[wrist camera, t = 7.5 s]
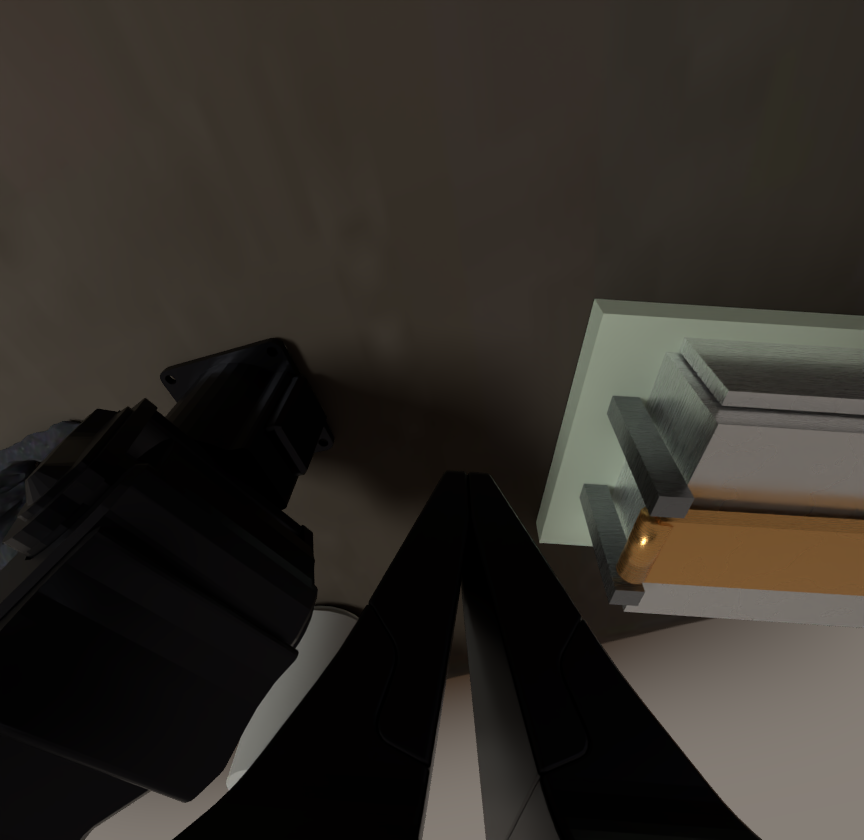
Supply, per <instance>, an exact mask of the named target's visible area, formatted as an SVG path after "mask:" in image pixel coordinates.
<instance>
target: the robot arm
mask: <svg viewBox="0 0 864 840" xmlns="http://www.w3.org/2000/svg"><path fill="white" fill-rule="evenodd" d="M269 347H273V348H275V349H276V350H277V352H278V353H274V352H272V351H271V350H270V348H269ZM170 376H173V377H174V378H175V379H176V380H174V379H172V378H171V377H170ZM160 379H161V381H162V383H163V384H164V386H165V387H166V388H167V390H168V391H169V392H170V394H171V395H172V396H173V398H174V399H175V401H176V402H177V404H176V405H175V406H174V407H173V408H172V409H171V411H170V412H169V413H168V414H167V415H166V417H164V416H163V415H162V414H160V413H159V412H158V411H157V407H156V406H155V405H154V404H153V403H151V402H150V401H149V400H148V399H146V398H144V399H143V400H142V401H140V402H139V403H138V404H137V405H135V406H134V407H133V408H132V409H131V408H130V407H126V408H125V409H123V410H122V411H120V410H119V411H118V412H115V411H109V410H102V409H96V410H95V411H94V412H93V413H91V414H90V415H89V416H88V417H87V418H86V419H85V420H84V421H83V422H82V423H80V424H79V425H78V426H77V427H76V428H75V429H74V430H73V431H72V432H71V433H70V434H69V435H68V436H67V437H66V438H65V439H64V440H63V441H62V442H60V443H59V444H58V445H57V446H56V447H55V448H54V449H53V450H52V451H51V453H50V454H49V455H48V456H47V457H46V458H45V459H44V460H43V461H42V462H41V463H40V465H39V466H38V467H37V468H36V469H35V470H34V471H33V472H32V473H31V475H30V476H29V477H28V478H27V479H26V480H25V491H26V503H25V504H24V506H23V507H22V508H21V510H20V512H19V513H18V515H17V519H16V520H15V522H14V524H13V525H12V527H11V528H10V530H9V531H8V533H7V534H6V536H5V538H4V539H3V541H2V543H4V544H5V545H7V546H9V547H11V548H13V549H14V550H16V551H18V553H17V554H16V555H15V556H14V557H13V558H12V559H11V560H10V561H9V562H8V563H7V564H6V565H5V566H4V568H3V569H2V570H1V571H0V840H85V838H86V837H87V836H88V835H89V833H90V832H91V831H92V830H93V829H94V828H95V827H97V826H98V825H100V824H101V823H103V822H104V821H106V820H107V819H109V818H110V817H112V816H114V815H115V814H117V813H118V812H120V811H121V810H123V809H124V808H126V807H127V806H129V805H130V804H132V803H133V802H135V801H136V800H138V799H139V798H141V797H142V796H144V795H145V794H147V793H149V792H150V791H154V792H156V793H159V794H162V795H165V796H167V797H170V798H173V799H175V800H178V801H181V802H184V803H186V802H189V801H191V800H193V799H194V798H195V797H197V796H198V795H199V793H201V792H202V791H203V790H204V789H205V788H206V787H207V786H208V785H209V784H210V783H211V782H212V781H213V780H214V779H215V778H216V777H217V776H218V775H220V773H221V772H222V771H223V770H224V768H225V767H226V765H227V763H228V761H229V759H230V757H231V755H232V753H233V751H234V750H235V748H236V746H237V744H238V742H239V740H240V738H241V736H242V734H243V733H244V731H245V729H246V727H247V725H248V723H249V722H250V720H251V718H252V716H253V715H254V713H255V711H256V709H257V708H258V706H259V705H260V703H261V702H262V700H263V699H264V698H265V696H266V695H267V693H268V692H269V691H270V689H271V688H272V686H273V685H274V683H275V682H276V681H277V680H278V679H279V678H280V677H281V676H282V674H283V673H284V672H285V671H286V670H287V669H288V668H289V667H290V666H291V665H292V664H293V663H294V661H295V660H296V659H297V657H298V654H299V652H298V650H297V649H295V648H296V647H297V646H298V644H299V643H300V641H301V639H302V637H303V636H304V634H305V632H306V630H307V628H308V625H309V623H310V621H311V618H312V614H313V610H314V604H315V602H316V599H317V591H318V589H317V587H316V586H315V585H314V563H315V559H314V554H313V532H312V531H310V530H309V529H308V528H307V527H305V526H304V525H302V526H300V525H299V524H298V523H297V522H295V521H294V520H293V519H292V518H290V517H289V516H288V515H287V514H285V513H284V512H283V511H282V510H283V509H285V508H286V507H287V504H288V502H289V499H290V497H291V494H292V492H293V489H294V487H295V484H296V481H297V479H298V476H299V475H304V474H305V473H306V471H307V469H308V467H309V464H310V461H311V459H312V456H313V453H315V452H320V451H325V450H328V449H330V448H331V447H332V446H333V443H334V436H333V434H332V432H331V430H330V428H329V426H328V425H327V423H326V419H327V417H326V415H325V413H324V411H323V409H322V408H321V406H320V404H319V402H318V400H317V398H316V396H315V395H314V393H313V391H312V389H311V387H310V385H309V383H308V381H307V380H306V378H304V377H303V376H301V375H300V373H299V371H298V369H297V367H296V365H295V364H294V362H293V360H292V358H291V356H290V354H289V353H288V351H287V349H286V347H285V345H284V344H283V343H282V342H281V341H280V340H278V339H275V338H269V339H266V340H262V341H259V342H255V343H252V344H248V345H245V346H241V347H237V348H234V349H230V350H227V351H223V352H220V353H216V354H213V355H209V356H205V357H202V358H198V359H195V360H191V361H188V362H184V363H181V364H177V365H174V366H170V367H167V368H166V369H165V370H164V371H163V372H162V373H161V375H160ZM321 439H325V440H327V442H324V441H322V440H321ZM460 587H461V588H462V601H463V611H464V621H465V631H466V642H467V652H468V662H469V672H470V682H471V691H472V702H473V712H474V722H475V733H476V743H477V753H478V763H479V773H480V783H481V793H482V803H483V813H484V823H485V833H486V840H762V839H761V838H760V837H758V836H757V835H756V834H755V833H754V832H753V831H752V830H751V829H750V828H748V827H747V826H746V825H745V824H744V823H743V822H742V821H741V820H740V819H739V818H738V817H737V816H736V815H735V814H734V812H733V811H732V810H731V809H730V808H729V807H728V806H727V805H726V804H725V803H724V802H723V801H722V799H721V798H720V797H719V796H718V795H717V793H716V792H715V791H714V790H713V789H712V787H711V786H710V785H709V784H708V782H707V781H706V780H705V779H704V777H703V776H702V775H701V774H700V772H699V771H698V770H697V769H696V768H695V766H694V765H693V764H692V762H691V761H690V760H689V759H688V757H687V756H686V755H685V754H684V752H683V751H682V750H681V749H680V747H679V746H678V745H677V744H676V742H675V741H674V740H673V739H672V737H671V736H670V735H669V734H668V732H667V731H666V730H665V729H664V727H663V726H662V725H661V724H660V722H659V721H658V720H657V719H656V717H655V716H654V715H653V714H652V712H651V711H650V710H649V709H648V707H647V706H646V705H645V704H644V702H643V701H642V700H641V699H640V697H639V696H638V694H637V693H636V692H635V691H634V689H633V688H632V687H631V685H630V684H629V683H628V682H627V680H626V679H625V678H624V676H623V675H622V674H621V672H620V671H619V670H618V668H617V667H616V665H615V664H614V662H613V661H612V660H611V658H610V657H609V655H608V654H607V652H606V651H605V649H604V648H603V647H602V645H601V644H600V642H599V641H598V639H597V638H596V636H595V635H594V633H593V631H592V630H591V628H590V627H589V625H588V624H587V622H586V621H585V620H582V615H581V613H580V612H579V610H578V609H577V607H576V606H575V604H574V602H573V601H572V599H571V598H570V596H569V595H568V593H567V592H566V590H565V589H564V587H563V586H562V584H561V582H560V581H559V579H558V578H557V576H556V575H555V573H554V572H553V570H552V569H551V567H550V566H549V564H548V563H547V561H546V559H545V558H544V556H543V555H542V553H541V552H540V550H539V549H538V547H537V546H536V544H535V543H534V541H533V539H532V538H531V536H530V535H529V533H528V532H527V530H526V529H525V527H524V526H523V524H522V523H521V521H520V519H519V518H518V516H517V515H516V513H515V512H514V510H513V509H512V507H511V506H510V504H509V503H508V501H507V500H506V498H505V496H504V495H503V493H502V492H501V490H500V489H499V487H498V486H497V484H496V483H495V481H494V480H493V478H492V477H491V475H490V474H488V473H479V472H470V473H468V475H467V473H466V472H464V471H449V470H448V471H446V472H445V473H444V474H443V476H442V477H441V479H440V481H439V483H438V484H437V486H436V488H435V489H434V491H433V493H432V494H431V496H430V498H429V500H428V501H427V503H426V505H425V506H424V508H423V510H422V512H421V513H420V515H419V517H418V518H417V520H416V522H415V523H414V525H413V527H412V529H411V530H410V532H409V534H408V535H407V537H406V539H405V541H404V542H403V544H402V546H401V547H400V549H399V551H398V552H397V554H396V556H395V558H394V559H393V561H392V563H391V564H390V566H389V568H388V570H387V571H386V573H385V575H384V576H383V578H382V580H381V581H380V583H379V585H378V587H377V588H376V590H375V592H374V593H373V595H372V597H371V598H370V600H369V605H366V607H365V608H364V610H363V612H362V613H361V615H360V617H359V618H358V620H357V622H356V624H355V625H354V627H353V628H352V630H351V631H350V633H349V635H348V636H347V638H346V639H345V641H344V643H343V644H342V646H341V647H340V649H339V650H338V652H337V653H336V655H335V656H334V657H333V659H332V660H331V662H330V663H329V664H328V666H327V667H326V668H325V670H324V671H323V673H322V674H321V675H320V677H319V678H318V680H317V681H316V682H315V684H314V685H313V686H312V687H311V689H310V690H309V691H308V693H307V694H306V695H305V697H304V698H303V699H302V700H301V702H300V703H299V704H298V706H297V707H296V708H295V710H294V711H293V712H292V713H291V715H290V716H289V717H288V719H287V720H286V721H285V723H284V724H283V725H282V726H281V728H280V729H279V730H278V732H277V733H276V734H275V736H274V737H273V738H272V740H271V741H270V742H269V743H268V745H267V746H266V747H265V749H264V750H263V751H262V753H261V754H260V755H259V756H258V758H257V759H256V760H255V761H254V763H253V764H252V765H251V766H250V768H249V769H248V770H247V771H246V772H245V773H244V775H243V776H242V777H241V778H240V779H239V780H238V781H237V783H236V784H235V785H234V786H233V787H232V788H231V789H230V790H229V791H228V792H227V793H226V794H225V795H224V796H223V797H222V798H221V799H220V800H219V801H218V802H217V803H216V804H215V805H213V806H212V807H211V808H210V809H209V810H208V811H207V812H205V813H204V814H203V815H202V816H200V817H199V818H198V819H197V820H196V821H194V822H193V823H192V824H191V825H190V826H188V827H187V828H186V829H185V830H183V831H182V832H181V833H180V834H179V835H178V836H176V837H175V838H174V839H172V840H422V836H423V829H424V823H425V817H426V810H427V804H428V797H429V791H430V784H431V777H432V771H433V765H434V758H435V751H436V745H437V738H438V731H439V725H440V719H441V712H442V706H443V699H444V692H445V686H446V680H447V673H448V666H449V660H450V653H451V647H452V640H453V634H454V627H455V621H456V614H457V608H458V601H459V594H460Z"/></svg>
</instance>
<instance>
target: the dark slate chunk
mask: <svg viewBox="0 0 864 840" xmlns="http://www.w3.org/2000/svg"><path fill="white" fill-rule="evenodd" d="M79 424H80V423H77V422H72V421H62V422H60V423H58V424H54V425H52V426H51V427H50V428H49V430H47V431H44V432H37V433H33V434H30V435H28V436H26V437H25V438H24V439H23V440H22V441H21V442H19V443H16V444H14V445H13V446H11V447H9V448H6V449H3V450H1V451H0V571H1V570H2V569H3V568H4V566H5V565H6V564H7V563H8V562H9V561H10V560H11V559H12V558H13V557H14V556H15V555H16V554H17V553H18V551H16V550H14V549H13V548H11V547H9V546H7V545H5V544H4V543H2V541H3V539H4V538H5V536H6V534H7V533H8V531H9V530H10V528H11V527H12V525H13V524H14V522H15V520H16V519H17V515H18V513H19V512H20V510H21V508H22V507H23V506H24V504H25V503H26V491H25V480H26V479H27V478H28V477H29V476H30V475H31V473H32V472H33V471H34V470H35V469H36V467H35V465H34V463H35V460H36V461H39V462H42V461H43V460H44V459H45V458H46V457H47V456H48V455H49V454H50V453H51V451H52V450H53V449H54V448H55V447H56V446H57V445H58V444H59V443H60V442H62V441H63V440H64V439H65V438H66V437H67V436H68V435H69V434H70V433H71V432H72V431H73V430H74V429H75V428H76V427H77V426H78V425H79Z"/></svg>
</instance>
